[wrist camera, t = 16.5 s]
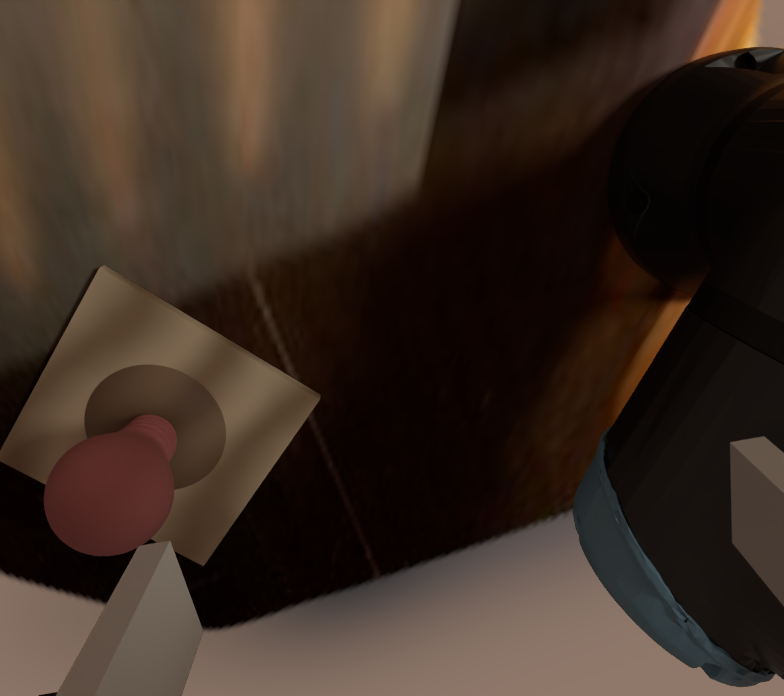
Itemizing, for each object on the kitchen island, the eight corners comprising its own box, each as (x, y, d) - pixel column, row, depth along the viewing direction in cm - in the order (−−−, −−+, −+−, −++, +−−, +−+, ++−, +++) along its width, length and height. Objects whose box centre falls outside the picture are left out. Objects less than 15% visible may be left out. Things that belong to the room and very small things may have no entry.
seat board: (320, 395, 48) (319, 399, 47) (205, 559, 52) (203, 566, 51) (104, 265, 44) (99, 267, 43) (1, 453, 49) (-5, 459, 48)
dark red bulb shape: (165, 365, 46) (95, 448, 34) (226, 444, 48) (178, 547, 37) (84, 414, 47) (-9, 510, 36) (147, 489, 49) (77, 602, 38)
